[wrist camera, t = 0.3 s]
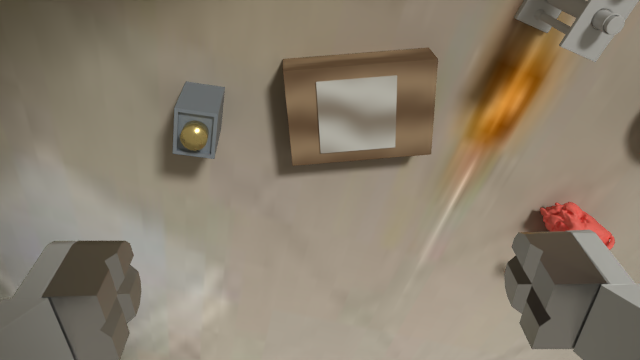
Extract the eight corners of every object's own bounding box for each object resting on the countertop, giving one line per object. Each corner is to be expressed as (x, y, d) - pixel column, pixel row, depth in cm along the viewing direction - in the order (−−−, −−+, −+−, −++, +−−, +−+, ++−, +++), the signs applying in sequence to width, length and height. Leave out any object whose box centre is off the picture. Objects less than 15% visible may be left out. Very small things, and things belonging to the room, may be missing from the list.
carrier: (185, 81, 58) (174, 107, 51) (224, 87, 58) (218, 114, 52) (183, 123, 60) (172, 153, 54) (221, 128, 61) (214, 158, 55)
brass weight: (183, 118, 53) (180, 125, 51) (209, 122, 53) (207, 128, 52) (181, 141, 54) (179, 148, 53) (207, 145, 54) (206, 152, 53)
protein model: (549, 182, 71) (614, 217, 60) (584, 228, 76) (649, 268, 66) (504, 225, 72) (560, 267, 61) (541, 268, 77) (599, 314, 67)
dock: (282, 59, 57) (283, 71, 53) (428, 47, 57) (438, 59, 54) (291, 149, 63) (292, 166, 60) (423, 139, 64) (431, 155, 60)
